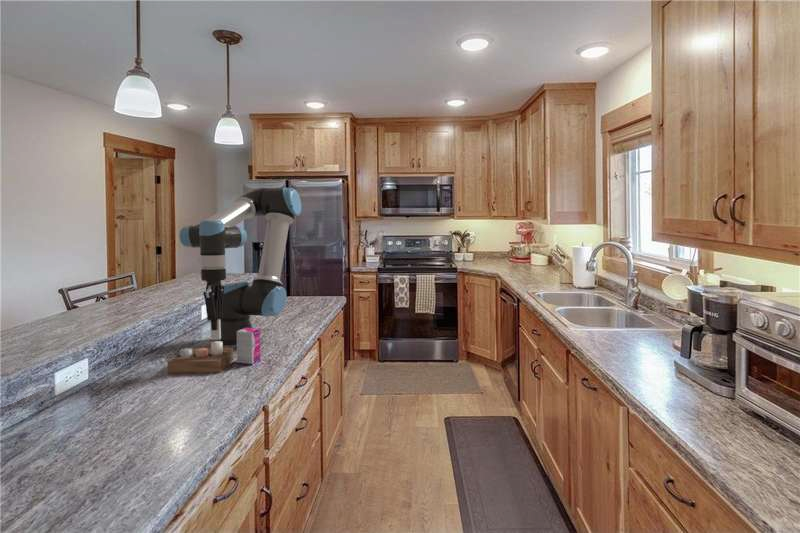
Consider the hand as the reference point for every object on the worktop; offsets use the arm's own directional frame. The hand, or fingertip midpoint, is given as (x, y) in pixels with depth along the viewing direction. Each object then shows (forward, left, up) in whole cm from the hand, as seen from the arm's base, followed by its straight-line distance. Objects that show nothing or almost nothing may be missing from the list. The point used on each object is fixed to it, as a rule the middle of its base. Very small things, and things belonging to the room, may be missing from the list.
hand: (216, 338), depth 151 cm
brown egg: (0, -5, -8) cm, 9 cm away
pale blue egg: (0, -10, -8) cm, 12 cm away
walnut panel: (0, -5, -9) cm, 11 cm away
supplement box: (-4, +9, -10) cm, 14 cm away
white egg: (0, 0, -5) cm, 5 cm away
